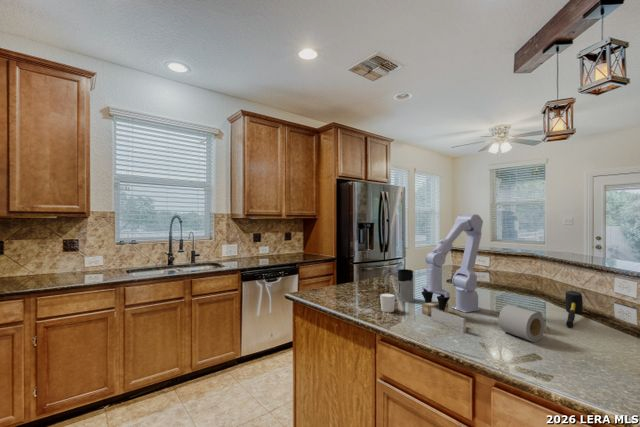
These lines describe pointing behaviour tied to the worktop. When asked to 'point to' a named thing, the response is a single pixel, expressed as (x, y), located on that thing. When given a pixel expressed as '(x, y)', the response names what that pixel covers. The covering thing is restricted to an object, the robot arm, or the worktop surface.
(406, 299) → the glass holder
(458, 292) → the robot arm
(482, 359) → the worktop surface
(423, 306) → the maple rail
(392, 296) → the shot glass
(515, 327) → the toilet paper
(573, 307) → the mallet
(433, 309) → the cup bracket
